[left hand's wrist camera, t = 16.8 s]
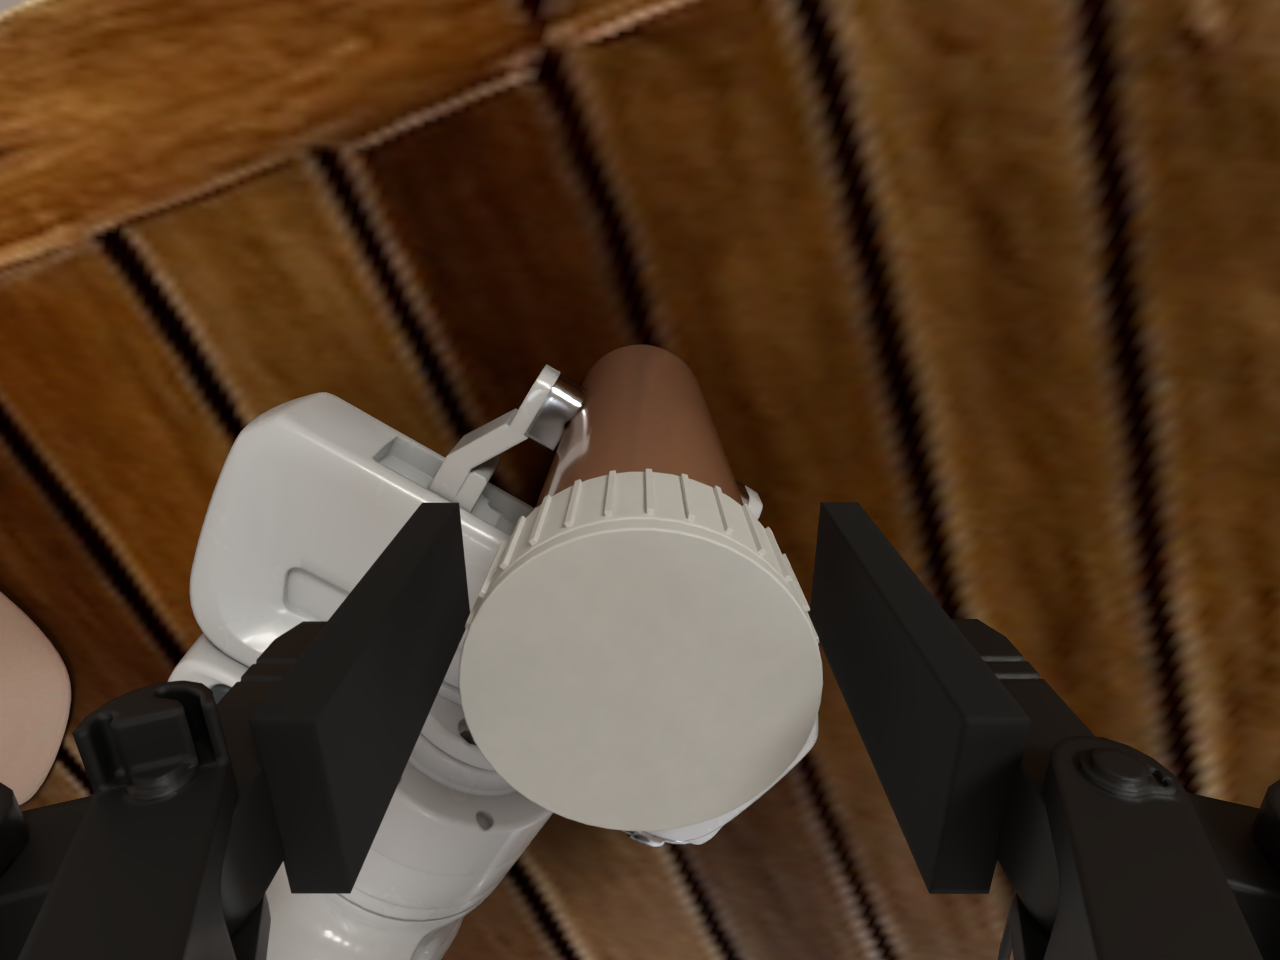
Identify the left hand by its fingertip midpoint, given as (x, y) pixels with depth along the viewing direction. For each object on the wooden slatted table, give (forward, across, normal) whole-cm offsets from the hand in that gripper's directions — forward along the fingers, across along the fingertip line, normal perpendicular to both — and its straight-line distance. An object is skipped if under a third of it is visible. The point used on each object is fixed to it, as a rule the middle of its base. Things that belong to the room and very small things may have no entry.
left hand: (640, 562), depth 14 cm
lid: (-4, 0, 0) cm, 4 cm away
